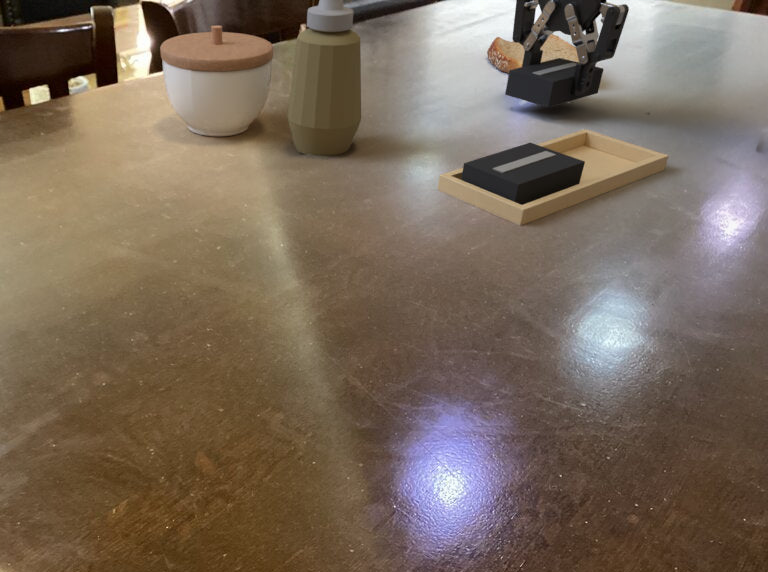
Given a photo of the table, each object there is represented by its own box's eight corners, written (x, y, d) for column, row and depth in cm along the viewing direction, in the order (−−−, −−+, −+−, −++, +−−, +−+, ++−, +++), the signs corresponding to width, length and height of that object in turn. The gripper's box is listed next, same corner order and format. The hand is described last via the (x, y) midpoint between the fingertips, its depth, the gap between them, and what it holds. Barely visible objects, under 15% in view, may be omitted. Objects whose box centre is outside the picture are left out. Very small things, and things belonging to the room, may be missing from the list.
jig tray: (580, 146, 92) (585, 128, 91) (663, 173, 85) (669, 155, 84) (436, 194, 80) (439, 174, 79) (519, 230, 74) (523, 209, 73)
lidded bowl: (288, 118, 98) (291, 21, 92) (243, 151, 89) (243, 45, 83) (196, 104, 103) (193, 9, 96) (144, 134, 93) (137, 32, 87)
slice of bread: (590, 94, 108) (598, 65, 106) (461, 73, 116) (465, 45, 113) (619, 64, 120) (626, 37, 118) (501, 47, 128) (505, 21, 126)
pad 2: (524, 170, 84) (530, 141, 82) (577, 190, 80) (585, 160, 78) (458, 192, 79) (463, 161, 78) (512, 215, 75) (518, 183, 73)
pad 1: (554, 81, 106) (559, 56, 104) (598, 93, 102) (604, 67, 100) (504, 94, 101) (509, 69, 100) (548, 107, 97) (553, 80, 95)
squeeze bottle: (349, 167, 86) (364, -21, 75) (276, 157, 88) (281, -27, 77) (366, 142, 92) (382, -35, 82) (297, 133, 94) (304, -40, 84)
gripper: (661, -60, 89) (621, 96, 98) (551, -73, 98) (524, 70, 108) (622, -54, 85) (584, 107, 95) (511, -68, 94) (487, 80, 104)
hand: (552, 87), depth 101 cm, fingers closed on pad 1, 6 cm apart
